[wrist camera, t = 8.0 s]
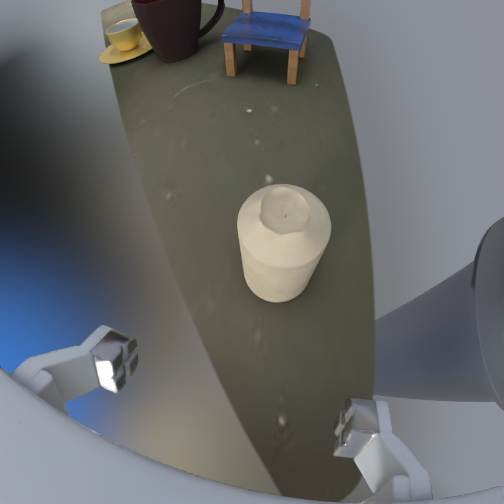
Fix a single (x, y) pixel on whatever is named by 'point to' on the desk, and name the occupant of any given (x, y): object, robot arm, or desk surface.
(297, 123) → the desk surface
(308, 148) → the desk surface
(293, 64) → the chair
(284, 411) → the desk surface
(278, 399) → the desk surface
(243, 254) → the candle
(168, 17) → the mug
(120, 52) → the cup
